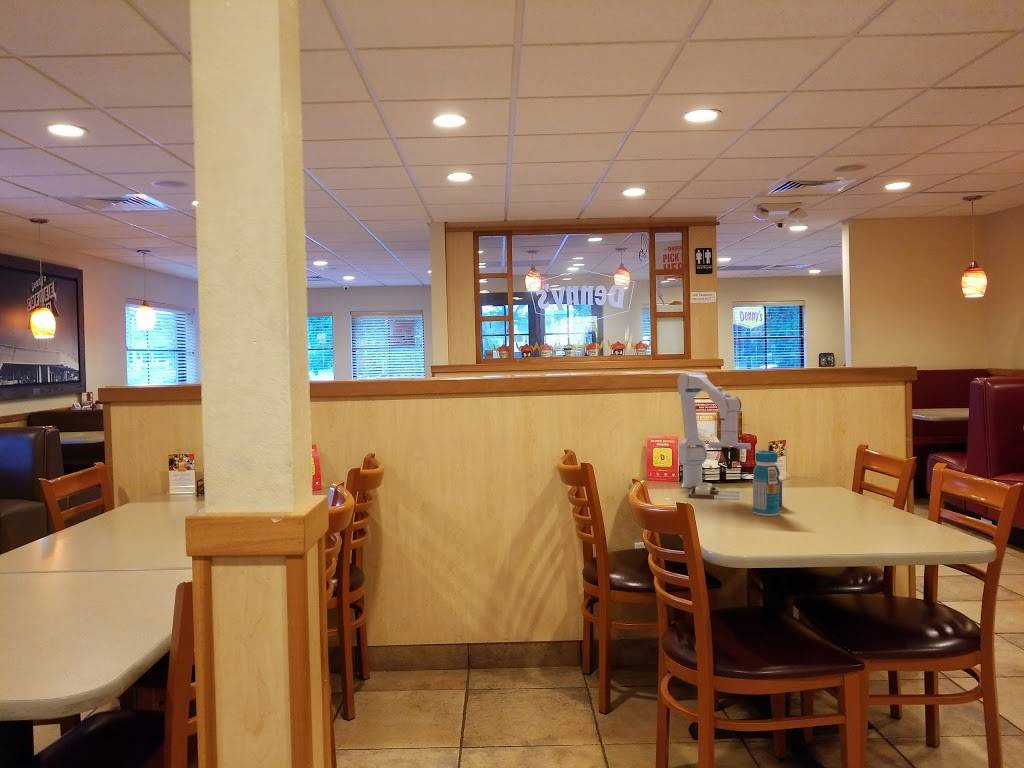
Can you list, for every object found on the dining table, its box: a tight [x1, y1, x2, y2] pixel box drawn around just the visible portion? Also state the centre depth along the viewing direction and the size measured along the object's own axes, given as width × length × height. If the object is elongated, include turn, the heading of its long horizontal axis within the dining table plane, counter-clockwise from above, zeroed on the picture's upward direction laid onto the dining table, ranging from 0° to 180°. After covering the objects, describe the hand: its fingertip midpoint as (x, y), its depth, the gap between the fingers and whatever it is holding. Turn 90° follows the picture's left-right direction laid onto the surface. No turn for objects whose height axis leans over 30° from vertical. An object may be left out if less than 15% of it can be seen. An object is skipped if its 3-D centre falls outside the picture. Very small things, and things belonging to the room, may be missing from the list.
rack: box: [686, 486, 741, 501], centre depth 276 cm, size 17×18×2 cm
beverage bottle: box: [751, 450, 781, 517], centre depth 244 cm, size 8×8×20 cm
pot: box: [695, 486, 710, 495], centre depth 274 cm, size 5×5×3 cm
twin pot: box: [697, 481, 713, 490], centre depth 281 cm, size 5×5×3 cm
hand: (729, 468), depth 271 cm, fingers closed
